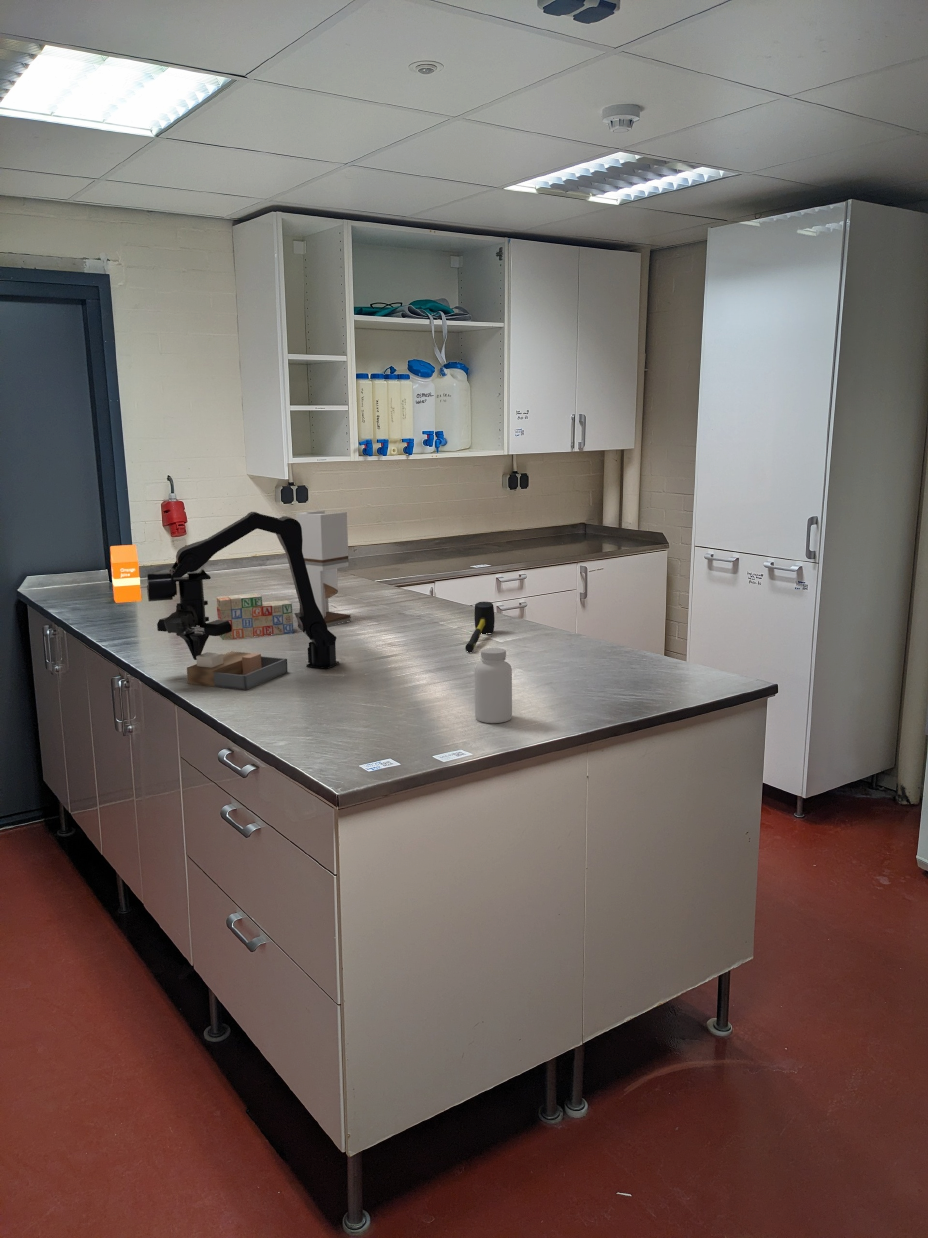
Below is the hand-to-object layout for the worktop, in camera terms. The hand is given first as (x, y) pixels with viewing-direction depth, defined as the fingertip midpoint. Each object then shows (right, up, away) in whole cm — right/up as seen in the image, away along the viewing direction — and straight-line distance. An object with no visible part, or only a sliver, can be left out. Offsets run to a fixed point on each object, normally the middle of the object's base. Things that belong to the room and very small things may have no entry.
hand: (196, 659), depth 235 cm
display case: (+23, +9, +66) cm, 71 cm away
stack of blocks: (+4, +5, +50) cm, 51 cm away
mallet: (+71, +3, +38) cm, 80 cm away
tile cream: (+4, -1, -2) cm, 4 cm away
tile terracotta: (+12, -1, +4) cm, 13 cm away
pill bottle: (+73, -11, -33) cm, 81 cm away
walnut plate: (+6, -4, +3) cm, 8 cm away
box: (+14, -5, 0) cm, 15 cm away
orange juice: (-56, +17, +109) cm, 123 cm away
